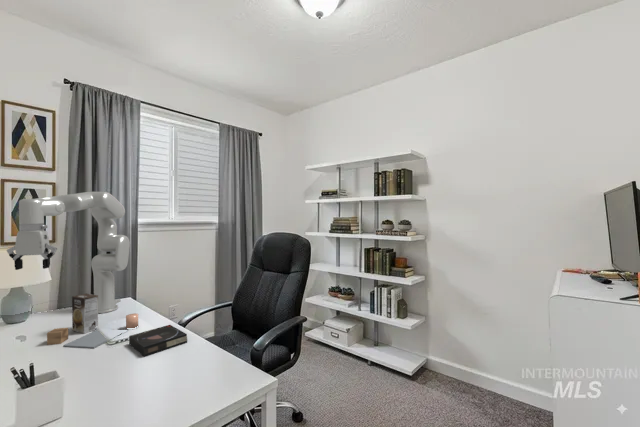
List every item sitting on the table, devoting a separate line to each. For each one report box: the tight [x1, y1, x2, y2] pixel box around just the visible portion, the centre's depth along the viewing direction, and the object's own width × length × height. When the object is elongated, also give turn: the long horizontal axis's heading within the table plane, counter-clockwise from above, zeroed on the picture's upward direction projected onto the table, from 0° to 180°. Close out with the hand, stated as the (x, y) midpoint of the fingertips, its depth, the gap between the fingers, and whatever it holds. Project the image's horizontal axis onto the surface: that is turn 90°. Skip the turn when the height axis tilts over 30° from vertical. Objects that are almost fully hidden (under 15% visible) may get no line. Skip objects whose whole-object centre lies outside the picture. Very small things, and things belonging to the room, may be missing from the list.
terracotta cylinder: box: [125, 313, 139, 329], centre depth 143 cm, size 5×5×6 cm
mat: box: [63, 329, 107, 349], centre depth 131 cm, size 18×14×1 cm
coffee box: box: [71, 293, 99, 334], centre depth 141 cm, size 9×6×16 cm
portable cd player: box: [128, 324, 188, 357], centre depth 126 cm, size 16×17×4 cm
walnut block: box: [46, 327, 69, 346], centre depth 128 cm, size 5×5×5 cm
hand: (32, 268), depth 127 cm, fingers open, 9 cm apart
